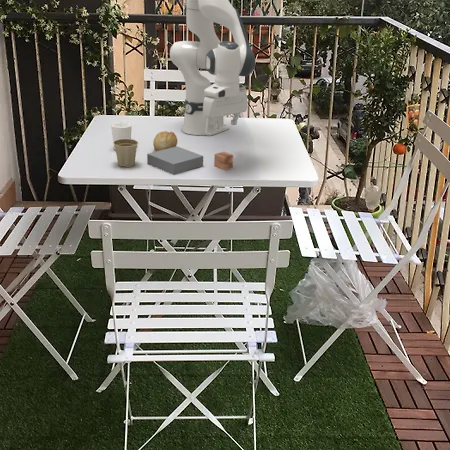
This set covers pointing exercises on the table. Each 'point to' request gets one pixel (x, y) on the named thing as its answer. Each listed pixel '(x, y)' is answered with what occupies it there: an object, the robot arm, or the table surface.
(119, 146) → the flower pot
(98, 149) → the table surface
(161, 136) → the bread roll
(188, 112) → the robot arm
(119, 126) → the white cup
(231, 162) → the cube
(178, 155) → the plinth
